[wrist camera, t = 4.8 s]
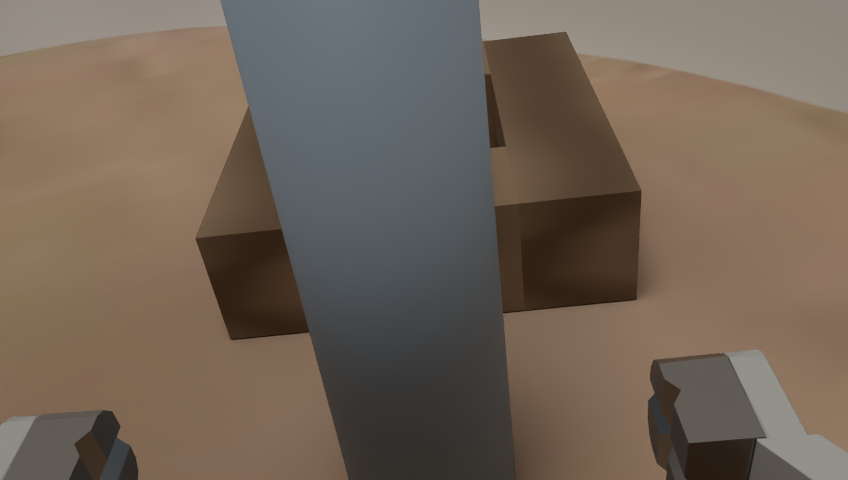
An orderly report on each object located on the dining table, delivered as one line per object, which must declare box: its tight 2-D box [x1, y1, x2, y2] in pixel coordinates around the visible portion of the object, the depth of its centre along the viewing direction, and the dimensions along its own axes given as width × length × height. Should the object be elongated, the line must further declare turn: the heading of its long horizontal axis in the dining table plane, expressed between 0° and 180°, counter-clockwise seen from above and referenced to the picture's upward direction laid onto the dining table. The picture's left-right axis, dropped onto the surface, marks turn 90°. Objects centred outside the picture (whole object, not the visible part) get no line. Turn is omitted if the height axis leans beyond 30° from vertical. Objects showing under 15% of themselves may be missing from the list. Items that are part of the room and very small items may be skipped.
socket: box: [196, 32, 641, 339], centre depth 29 cm, size 13×13×4 cm
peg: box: [220, 0, 516, 480], centre depth 15 cm, size 4×4×14 cm
